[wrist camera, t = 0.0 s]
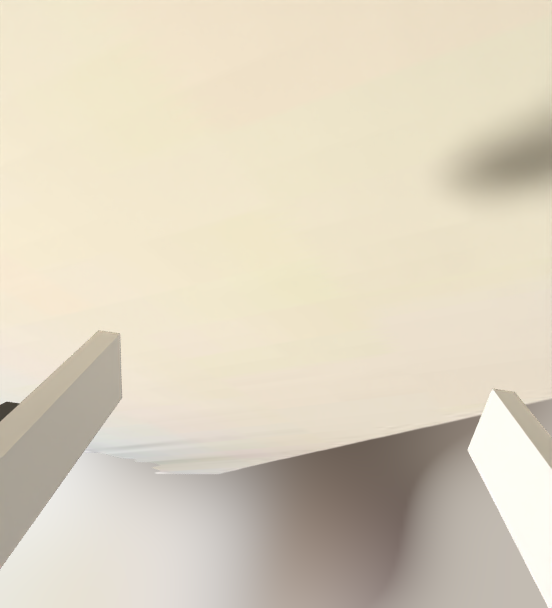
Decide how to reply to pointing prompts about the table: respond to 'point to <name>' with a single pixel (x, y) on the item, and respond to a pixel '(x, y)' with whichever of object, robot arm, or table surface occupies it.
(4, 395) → the table surface
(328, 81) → the table surface
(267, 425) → the table surface
